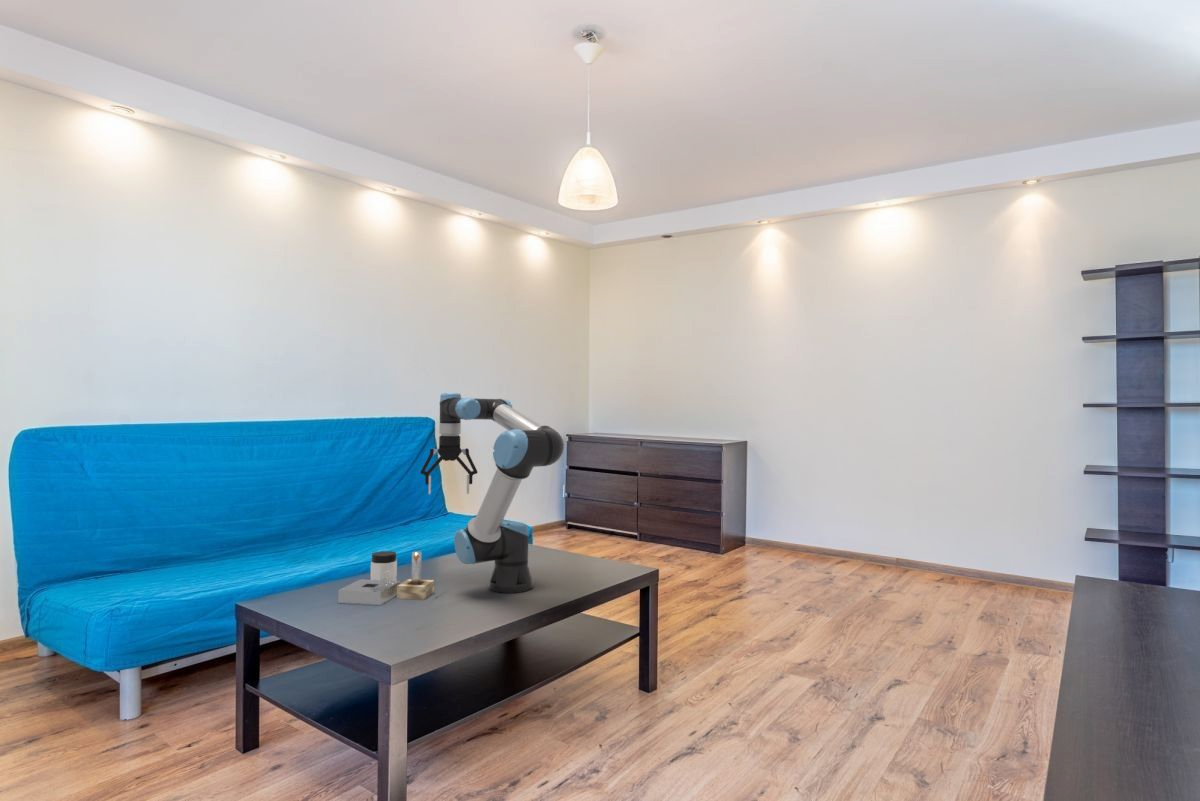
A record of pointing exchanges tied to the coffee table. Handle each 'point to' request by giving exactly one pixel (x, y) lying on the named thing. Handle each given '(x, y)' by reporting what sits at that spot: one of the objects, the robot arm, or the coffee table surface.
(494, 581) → the robot arm
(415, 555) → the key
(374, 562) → the jar
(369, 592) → the block
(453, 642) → the coffee table surface
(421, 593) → the holder
